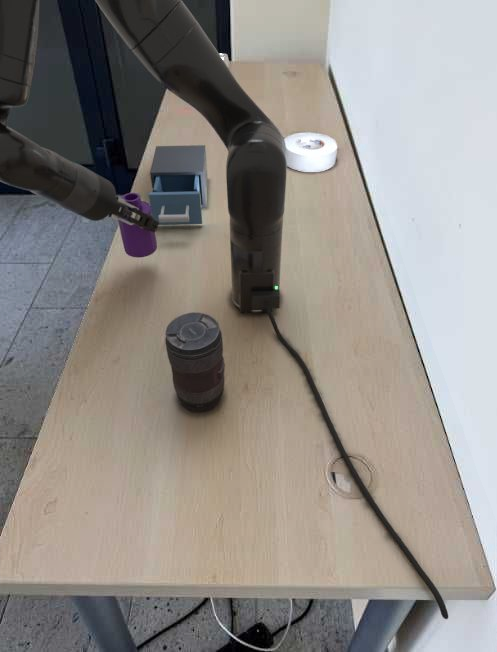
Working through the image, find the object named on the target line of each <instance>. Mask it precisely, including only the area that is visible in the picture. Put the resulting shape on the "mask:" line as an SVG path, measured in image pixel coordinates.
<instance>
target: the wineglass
mask: <svg viewBox="0 0 497 652" xmlns="http://www.w3.org/2000/svg"><path fill="white" fill-rule="evenodd" d="M218 53H219V52H218ZM219 54H220V56H221V57H222V59H223V60H224V62H225V64H226V65H227V67H228V68H229V69H230V60H229V56H228V54H227V53H223V52H222V53H219Z"/></svg>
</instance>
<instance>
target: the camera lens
mask: <svg viewBox="0 0 497 652" xmlns="http://www.w3.org/2000/svg"><path fill="white" fill-rule="evenodd" d="M164 344H165V348H166V355H167V358H168V361H169V364H170V368H171V369H170V370H171V375H172V384H173V388H174V392H175V394H176V397H177V399H178V401H179V402H180V404H181V405H182V407H183V408H184V409H185V410H187V411H188V412H191V413H195V414H204V413H207V412H210V411H212V410H214V409H215V408H216V407H217V406H218V405H219V403H220V402H221V399H222V397H223V393H224V389H225V388H224V387H225V369H226V368H225V367H226V363H225V358H224V346H223V344H224V343H223V333H222V330H221V328H220V324H219V321H217V320H216V319H215V318H214V317H213V316H211V315H210V314H207V313H204V312H186V313H183V314H181V315H179V316H176V317H175V318H173V320H171V321H170V322H169V323H168V325H167V326H166V329H165V338H164Z"/></svg>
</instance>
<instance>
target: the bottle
mask: <svg viewBox="0 0 497 652" xmlns="http://www.w3.org/2000/svg"><path fill="white" fill-rule="evenodd" d="M121 198H122V199H124V200H125V201H126V202H127V203H129V204H131V205H133V206H135V207H137V208H138V209H139V210H140V211H141V212H143V213H145V214H147V215H149V216H152V210H151V206H150V202H147V201H145V200H142V198H141V194H139V193H137V192H128V193H125V194H124V195H122V197H121ZM127 207H128V206H127ZM128 208H129V211H131V210H132V209H131V208H130V207H128ZM131 212H132V211H131ZM118 217H119V216H118ZM152 217H153V216H152ZM120 218H121V217H120ZM128 218H129V216H127V217H126V218H123V219H125V220H128ZM117 222H118V227H119V231H120V236H121V241H122V245H123V249H124V252H125V254H126V255H128V257H131V258H145V257H148V256H151V255H153V254H154V253H155V252H156V251H157V250H158V241H157V235H156V232H151V231H149V230H145V228H140V226H138V225H135V224H133V225H129V224H127V223H125V222H122V221H120V220H117Z"/></svg>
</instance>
